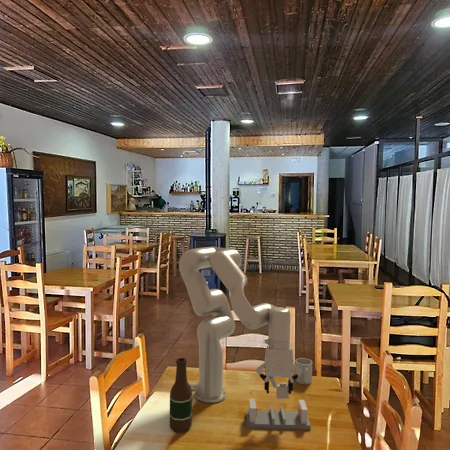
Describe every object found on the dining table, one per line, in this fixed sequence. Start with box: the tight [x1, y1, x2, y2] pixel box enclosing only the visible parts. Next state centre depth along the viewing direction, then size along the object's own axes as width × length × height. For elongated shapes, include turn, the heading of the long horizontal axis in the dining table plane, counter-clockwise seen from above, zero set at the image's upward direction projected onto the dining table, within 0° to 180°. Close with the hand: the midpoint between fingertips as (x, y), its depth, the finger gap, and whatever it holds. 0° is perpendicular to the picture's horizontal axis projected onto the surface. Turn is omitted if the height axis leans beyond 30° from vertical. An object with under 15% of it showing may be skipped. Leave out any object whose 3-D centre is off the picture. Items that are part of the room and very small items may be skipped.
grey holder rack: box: [245, 398, 312, 431], centre depth 145 cm, size 22×9×6 cm, turn 89°
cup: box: [294, 357, 313, 386], centre depth 176 cm, size 7×10×9 cm
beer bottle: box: [169, 357, 193, 434], centre depth 140 cm, size 8×8×24 cm
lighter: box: [269, 377, 290, 400], centre depth 144 cm, size 7×2×8 cm, turn 93°
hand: (278, 391), depth 144 cm, fingers closed on lighter, 7 cm apart
